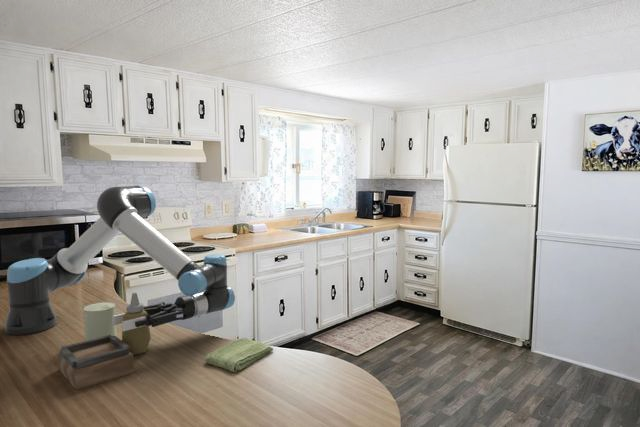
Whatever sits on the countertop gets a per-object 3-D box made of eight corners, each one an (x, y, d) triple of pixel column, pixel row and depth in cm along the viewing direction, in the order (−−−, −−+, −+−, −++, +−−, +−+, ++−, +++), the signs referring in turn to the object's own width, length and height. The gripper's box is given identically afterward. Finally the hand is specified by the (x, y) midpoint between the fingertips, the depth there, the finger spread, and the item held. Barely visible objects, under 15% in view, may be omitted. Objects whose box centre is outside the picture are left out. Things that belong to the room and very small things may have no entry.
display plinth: (59, 369, 117) (57, 346, 116) (112, 354, 126) (111, 333, 126) (76, 390, 105) (75, 365, 105) (133, 371, 115) (132, 348, 115)
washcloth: (275, 352, 129) (275, 342, 129) (235, 375, 114) (235, 364, 114) (242, 343, 136) (242, 333, 135) (201, 364, 121) (200, 353, 120)
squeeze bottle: (128, 346, 132) (125, 289, 131) (154, 345, 133) (152, 289, 131) (118, 357, 124) (115, 297, 123) (146, 356, 125) (143, 296, 123)
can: (103, 348, 131) (101, 310, 130) (78, 346, 133) (75, 308, 132) (123, 337, 140) (121, 301, 139) (98, 335, 142) (97, 300, 141)
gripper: (206, 324, 134) (131, 345, 118) (177, 310, 147) (106, 327, 131) (205, 301, 133) (130, 318, 117) (176, 289, 147) (105, 303, 131)
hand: (118, 323), depth 124 cm, fingers closed on squeeze bottle, 6 cm apart
